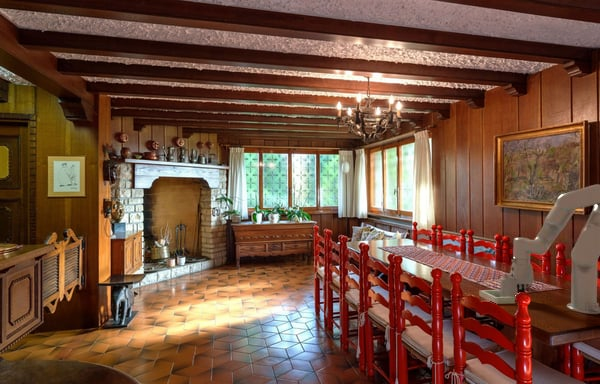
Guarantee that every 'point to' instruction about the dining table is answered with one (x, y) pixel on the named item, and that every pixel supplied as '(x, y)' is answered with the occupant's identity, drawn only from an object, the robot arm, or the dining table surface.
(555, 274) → the dining table surface
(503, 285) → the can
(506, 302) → the pale green shallow tray
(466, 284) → the dining table surface
